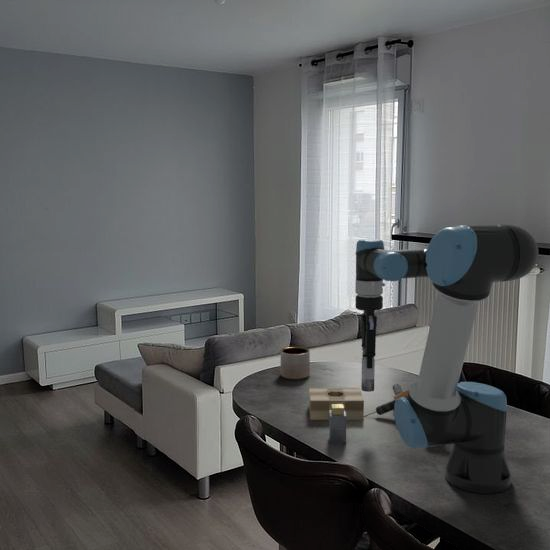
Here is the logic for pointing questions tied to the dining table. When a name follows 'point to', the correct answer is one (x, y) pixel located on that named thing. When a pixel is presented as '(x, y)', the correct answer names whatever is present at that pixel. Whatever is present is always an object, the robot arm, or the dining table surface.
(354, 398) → the bore block
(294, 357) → the planter
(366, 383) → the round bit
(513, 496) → the dining table surface
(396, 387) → the tool
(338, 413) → the square bit
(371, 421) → the dining table surface
